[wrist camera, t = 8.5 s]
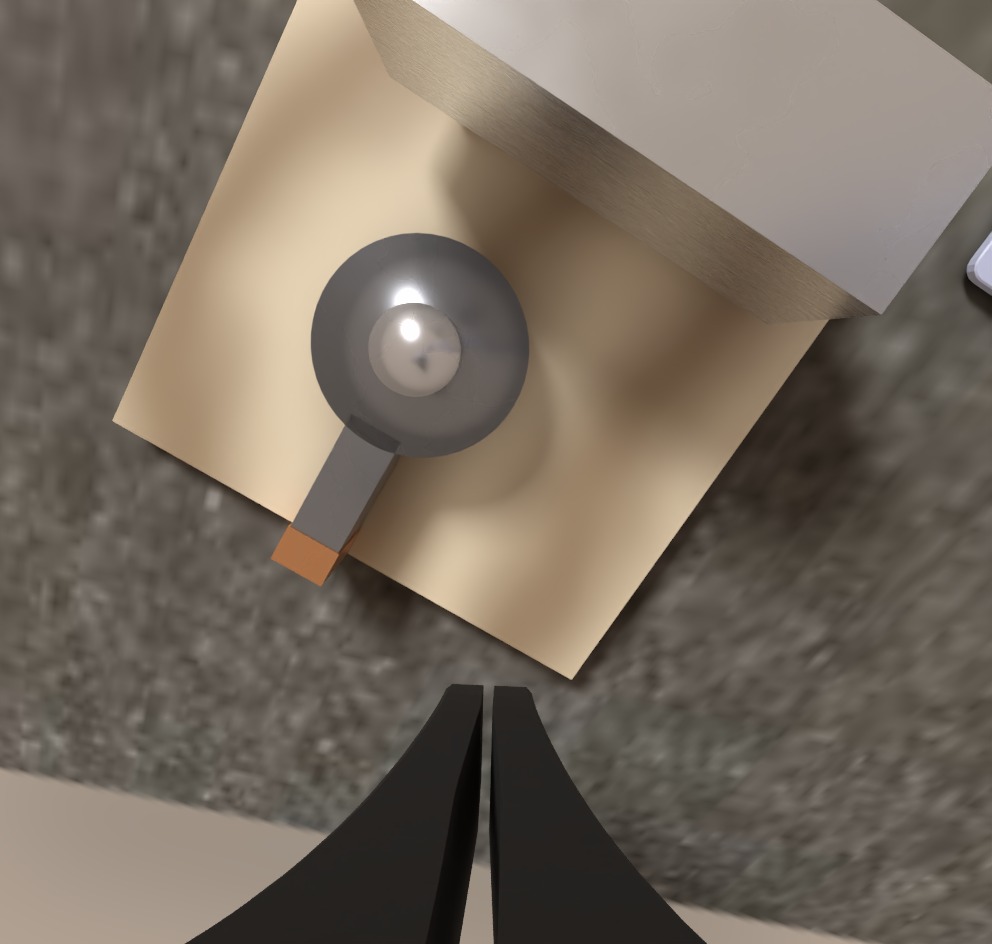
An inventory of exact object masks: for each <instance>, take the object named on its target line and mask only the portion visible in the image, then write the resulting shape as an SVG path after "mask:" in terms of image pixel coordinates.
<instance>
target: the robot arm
mask: <svg viewBox="0 0 992 944" xmlns="http://www.w3.org/2000/svg"><path fill="white" fill-rule="evenodd" d="M967 275H968V278H969V279H970V281H971V282H972V283H974V284H975V285H977V286H978V287H980V288H981V289H983V290H984V291H985V292H987V293H988V294H990V295H991V296H992V232H991V233H990V234H989V236H988V237H987V238H986V240H985V241H984V242H983V244H982V245H981V246H980V248H979V249H978V250H977V252H976V253H975V254H974V256H973V257H972V258H971V260H970V262H969V264H968V265H967ZM482 724H483V685H462V684H452V685H451V686H449V687H448V688H447V689H446V691H445V693H444V695H443V697H442V698H441V700H440V702H439V704H438V705H437V707H436V709H435V710H434V712H433V713H432V715H431V716H430V718H429V719H428V721H427V722H426V724H425V725H424V727H423V728H422V730H421V731H420V733H419V734H418V735H417V737H416V738H415V739H414V741H413V742H412V744H411V745H410V746H409V748H408V749H407V750H406V752H405V753H404V754H403V756H402V757H401V758H400V759H399V761H398V762H397V763H396V764H395V765H394V767H393V768H392V769H391V770H390V771H389V773H388V774H387V775H386V776H385V777H384V779H383V780H382V781H381V782H380V783H379V785H378V786H377V787H376V788H375V789H374V790H373V791H372V793H371V794H370V795H369V796H368V797H367V798H366V799H365V800H364V801H363V802H362V803H361V804H360V805H359V807H358V808H357V809H356V810H355V811H354V812H353V813H352V814H351V815H350V816H349V817H348V818H347V819H346V820H345V821H344V822H343V823H342V824H341V825H340V826H339V827H338V828H336V829H335V830H334V831H333V832H332V833H331V834H330V835H329V836H328V837H327V838H326V839H324V840H323V841H322V842H321V843H320V844H319V845H318V846H317V847H316V848H315V849H313V850H312V851H311V852H310V853H309V854H308V855H307V856H306V857H304V858H303V859H302V860H301V861H300V862H299V863H297V864H296V865H295V866H294V867H293V868H291V869H290V870H289V871H288V872H286V873H285V874H284V875H283V876H282V877H280V878H279V879H277V880H276V881H275V882H274V883H272V884H271V885H269V886H268V887H267V888H266V889H264V890H263V891H262V892H260V893H259V894H258V895H256V896H255V897H254V898H252V899H251V900H250V901H248V902H247V903H246V904H244V905H243V906H242V907H240V908H239V909H238V910H236V911H235V912H233V913H232V914H230V915H229V916H227V917H226V918H224V919H223V920H221V921H220V922H218V923H217V924H215V925H214V926H212V927H211V928H209V929H208V930H206V931H205V932H203V933H201V934H200V935H198V936H196V937H195V938H193V939H192V940H190V941H189V942H187V943H185V944H459V942H460V936H461V930H462V924H463V918H464V912H465V906H466V900H467V894H468V888H469V881H470V875H471V869H472V863H473V857H474V851H475V844H476V838H477V832H478V818H479V803H480V788H481V766H482ZM489 838H490V863H491V887H492V910H493V936H494V944H707V943H706V942H705V941H704V940H702V939H701V938H700V937H699V936H698V935H697V934H696V933H695V932H694V931H693V930H692V929H691V928H690V927H689V926H688V925H687V924H686V923H685V922H684V921H683V920H682V919H681V918H680V917H679V916H678V915H677V914H676V913H675V912H674V910H673V909H672V908H671V907H670V906H669V905H668V904H667V903H666V902H665V901H664V900H663V899H662V897H661V896H660V895H659V894H658V893H657V892H656V891H655V890H654V889H653V888H652V887H651V886H650V884H649V883H648V882H647V881H646V880H645V879H644V878H643V877H642V876H641V875H640V874H639V872H638V871H637V870H636V869H635V868H634V866H633V865H632V864H631V863H630V861H629V860H628V859H627V858H626V857H625V855H624V854H623V853H622V852H621V850H620V849H619V848H618V847H617V845H616V844H615V843H614V841H613V840H612V839H611V837H610V836H609V835H608V833H607V832H606V831H605V829H604V828H603V827H602V825H601V824H600V823H599V821H598V820H597V818H596V817H595V816H594V814H593V813H592V811H591V810H590V808H589V807H588V805H587V804H586V802H585V801H584V799H583V797H582V796H581V794H580V793H579V791H578V790H577V788H576V786H575V785H574V783H573V782H572V780H571V778H570V776H569V775H568V773H567V771H566V770H565V768H564V766H563V764H562V762H561V760H560V759H559V757H558V755H557V753H556V751H555V749H554V747H553V745H552V744H551V742H550V739H549V737H548V735H547V733H546V731H545V729H544V727H543V724H542V722H541V720H540V717H539V715H538V712H537V710H536V707H535V704H534V701H533V698H532V693H531V692H530V691H529V690H528V689H527V688H526V687H508V686H494V697H493V716H492V752H491V788H490V823H489Z"/></svg>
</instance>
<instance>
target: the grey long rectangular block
mask: <svg viewBox="0 0 992 944" xmlns="http://www.w3.org/2000/svg"><path fill="white" fill-rule="evenodd" d="M353 1H354V3H355V5H356V7H357V9H358V11H359V13H360V15H361V18H362V20H363V22H364V24H365V26H366V28H367V30H368V32H369V35H370V37H371V39H372V41H373V43H374V45H375V47H376V50H377V52H378V54H379V56H380V58H381V60H382V62H383V64H384V67H385V69H386V71H387V73H388V75H389V77H390V78H392V79H393V80H395V81H396V82H398V83H399V84H401V85H402V86H404V87H405V88H407V89H408V90H410V91H411V92H413V93H415V94H416V95H418V96H419V97H421V98H422V99H424V100H425V101H427V102H428V103H430V104H431V105H433V106H434V107H436V108H437V109H439V110H440V111H442V112H444V113H445V114H447V115H448V116H450V117H451V118H453V119H454V120H456V121H457V122H459V123H460V124H462V125H463V126H465V127H466V128H468V129H469V130H471V131H473V132H474V133H476V134H477V135H479V136H480V137H482V138H483V139H485V140H486V141H488V142H489V143H491V144H492V145H494V146H495V147H497V148H498V149H500V150H502V151H503V152H505V153H506V154H508V155H509V156H511V157H512V158H514V159H515V160H517V161H518V162H520V163H521V164H523V165H524V166H526V167H527V168H529V169H531V170H532V171H534V172H535V173H537V174H538V175H540V176H541V177H543V178H544V179H546V180H547V181H549V182H550V183H552V184H553V185H555V186H556V187H558V188H560V189H561V190H563V191H564V192H566V193H567V194H569V195H570V196H572V197H573V198H575V199H576V200H578V201H579V202H581V203H582V204H584V205H585V206H587V207H589V208H590V209H592V210H593V211H595V212H596V213H598V214H599V215H601V216H602V217H604V218H605V219H607V220H608V221H610V222H611V223H613V224H614V225H616V226H618V227H619V228H621V229H622V230H624V231H625V232H627V233H628V234H630V235H631V236H633V237H634V238H636V239H637V240H639V241H640V242H642V243H643V244H645V245H647V246H648V247H650V248H651V249H653V250H654V251H656V252H657V253H659V254H660V255H662V256H663V257H665V258H666V259H668V260H669V261H671V262H672V263H674V264H676V265H677V266H679V267H680V268H682V269H683V270H685V271H686V272H688V273H689V274H691V275H692V276H694V277H695V278H697V279H698V280H700V281H701V282H703V283H705V284H706V285H708V286H709V287H711V288H712V289H714V290H715V291H717V292H718V293H720V294H721V295H723V296H724V297H726V298H727V299H729V300H730V301H732V302H734V303H735V304H737V305H738V306H740V307H741V308H743V309H744V310H746V311H747V312H749V313H750V314H752V315H753V316H755V317H756V318H758V319H759V320H761V321H762V322H764V323H766V324H778V323H790V322H802V321H814V320H826V319H838V318H850V317H862V316H874V315H882V313H883V312H884V310H885V309H886V308H887V306H888V305H889V304H890V302H891V301H892V300H893V298H894V297H895V296H896V294H897V293H898V292H899V290H900V289H901V287H902V286H903V285H904V283H905V282H906V281H907V279H908V278H909V277H910V275H911V274H912V273H913V271H914V270H915V269H916V267H917V266H918V264H919V263H920V262H921V260H922V259H923V258H924V256H925V255H926V254H927V252H928V251H929V250H930V248H931V247H932V246H933V244H934V243H935V241H936V240H937V239H938V237H939V236H940V235H941V233H942V232H943V231H944V229H945V228H946V227H947V225H948V224H949V223H950V221H951V220H952V219H953V217H954V216H955V214H956V213H957V212H958V210H959V209H960V208H961V206H962V205H963V204H964V202H965V201H966V200H967V198H968V197H969V196H970V194H971V193H972V191H973V190H974V189H975V187H976V186H977V185H978V183H979V182H980V181H981V179H982V178H983V177H984V175H985V174H986V173H987V171H988V170H989V168H990V167H991V166H992V84H990V83H989V82H988V81H986V80H985V79H983V78H982V77H981V76H979V75H978V74H977V73H975V72H974V71H972V70H971V69H970V68H968V67H967V66H966V65H964V64H963V63H961V62H960V61H959V60H957V59H956V58H955V57H953V56H952V55H951V54H949V53H948V52H946V51H945V50H944V49H942V48H941V47H940V46H938V45H937V44H935V43H934V42H933V41H931V40H930V39H929V38H927V37H926V36H925V35H923V34H922V33H920V32H919V31H918V30H916V29H915V28H914V27H912V26H911V25H909V24H908V23H907V22H905V21H904V20H903V19H901V18H900V17H898V16H897V15H896V14H894V13H893V12H892V11H890V10H889V9H888V8H886V7H885V6H883V5H882V4H881V3H879V2H878V1H877V0H353Z"/></svg>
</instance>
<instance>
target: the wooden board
mask: <svg viewBox="0 0 992 944" xmlns="http://www.w3.org/2000/svg"><path fill="white" fill-rule="evenodd" d="M407 233H426V234H435V235H439V236H444V237H448V238H451V239H453V240H456V241H459V242H461V243H463V244H465V245H467V246H469V247H471V248H472V249H474V250H476V251H477V252H479V253H480V254H481V255H483V256H484V257H486V258H487V259H488V260H489V261H490V262H491V263H492V264H493V265H494V266H495V267H496V268H498V269H499V271H500V272H501V273H502V274H503V276H504V277H505V278H506V279H507V281H508V282H509V284H510V285H511V287H512V289H513V290H514V292H515V294H516V296H517V298H518V300H519V302H520V305H521V307H522V309H523V313H524V316H525V319H526V323H527V329H528V335H529V361H528V369H527V373H526V378H525V382H524V385H523V387H522V390H521V393H520V395H519V397H518V399H517V401H516V403H515V405H514V407H513V408H512V410H511V411H510V412H509V414H508V415H507V417H506V418H505V419H504V420H503V422H502V423H501V424H500V425H499V426H498V427H497V428H496V429H495V430H494V431H493V432H492V433H490V434H489V435H488V436H487V437H486V438H484V439H483V440H481V441H479V442H478V443H476V444H475V445H473V446H471V447H469V448H466V449H464V450H462V451H459V452H456V453H453V454H450V455H446V456H440V457H432V458H415V457H406V456H401V457H400V458H399V460H398V462H397V464H396V465H395V467H394V469H393V471H392V472H391V474H390V476H389V478H388V479H387V481H386V483H385V485H384V486H383V488H382V490H381V492H380V493H379V495H378V497H377V499H376V500H375V502H374V504H373V506H372V507H371V509H370V511H369V513H368V514H367V516H366V518H365V520H364V521H363V523H362V525H361V530H360V532H359V533H358V535H357V537H356V539H355V540H354V542H353V544H352V546H351V547H350V549H349V551H348V553H347V554H349V555H351V556H353V557H354V558H356V559H358V560H360V561H362V562H363V563H365V564H367V565H369V566H370V567H372V568H374V569H376V570H378V571H379V572H381V573H383V574H385V575H386V576H388V577H390V578H392V579H393V580H395V581H397V582H399V583H401V584H402V585H404V586H406V587H408V588H409V589H411V590H413V591H415V592H417V593H418V594H420V595H422V596H424V597H425V598H427V599H429V600H431V601H432V602H434V603H436V604H438V605H440V606H441V607H443V608H445V609H447V610H448V611H450V612H452V613H454V614H456V615H457V616H459V617H461V618H463V619H464V620H466V621H468V622H470V623H471V624H473V625H475V626H477V627H479V628H480V629H482V630H484V631H486V632H487V633H489V634H491V635H493V636H495V637H496V638H498V639H500V640H502V641H503V642H505V643H507V644H509V645H511V646H512V647H514V648H516V649H518V650H519V651H521V652H523V653H525V654H526V655H528V656H530V657H532V658H534V659H535V660H537V661H539V662H541V663H542V664H544V665H546V666H548V667H550V668H551V669H553V670H555V671H557V672H558V673H560V674H562V675H564V676H565V677H567V678H569V679H571V680H572V679H573V677H574V676H575V674H576V673H577V672H578V670H579V669H580V667H581V666H582V665H583V663H584V662H585V660H586V659H587V658H588V656H589V655H590V653H591V652H592V651H593V649H594V648H595V646H596V645H597V644H598V642H599V641H600V639H601V638H602V637H603V635H604V634H605V632H606V631H607V630H608V628H609V627H610V625H611V624H612V623H613V621H614V620H615V618H616V617H617V616H618V614H619V613H620V611H621V610H622V609H623V607H624V606H625V604H626V603H627V602H628V600H629V599H630V597H631V596H632V595H633V593H634V592H635V590H636V589H637V588H638V586H639V585H640V583H641V582H642V581H643V579H644V578H645V576H646V575H647V574H648V572H649V571H650V569H651V568H652V567H653V565H654V564H655V562H656V561H657V560H658V558H659V557H660V555H661V554H662V553H663V551H664V550H665V548H666V547H667V546H668V544H669V543H670V542H671V540H672V539H673V537H674V536H675V535H676V533H677V532H678V530H679V529H680V528H681V526H682V525H683V523H684V522H685V521H686V519H687V518H688V516H689V515H690V514H691V512H692V511H693V509H694V508H695V507H696V505H697V504H698V502H699V501H700V500H701V498H702V497H703V495H704V494H705V493H706V491H707V490H708V488H709V487H710V486H711V484H712V483H713V481H714V480H715V479H716V477H717V476H718V474H719V473H720V472H721V470H722V469H723V467H724V466H725V465H726V463H727V462H728V460H729V459H730V458H731V456H732V455H733V453H734V452H735V451H736V449H737V448H738V446H739V445H740V444H741V442H742V441H743V439H744V438H745V437H746V435H747V434H748V432H749V431H750V430H751V428H752V427H753V425H754V424H755V423H756V421H757V420H758V418H759V417H760V416H761V414H762V413H763V411H764V410H765V409H766V407H767V406H768V404H769V403H770V402H771V400H772V399H773V397H774V396H775V395H776V393H777V392H778V390H779V389H780V388H781V386H782V385H783V383H784V382H785V381H786V379H787V378H788V376H789V375H790V374H791V372H792V371H793V369H794V368H795V367H796V365H797V364H798V362H799V361H800V360H801V358H802V357H803V355H804V354H805V353H806V351H807V350H808V348H809V347H810V346H811V344H812V343H813V341H814V340H815V339H816V337H817V336H818V334H819V333H820V332H821V330H822V329H823V327H824V326H825V325H826V323H827V322H828V320H829V319H826V320H814V321H802V322H790V323H778V324H766V323H764V322H762V321H761V320H759V319H758V318H756V317H755V316H753V315H752V314H750V313H749V312H747V311H746V310H744V309H743V308H741V307H740V306H738V305H737V304H735V303H734V302H732V301H730V300H729V299H727V298H726V297H724V296H723V295H721V294H720V293H718V292H717V291H715V290H714V289H712V288H711V287H709V286H708V285H706V284H705V283H703V282H701V281H700V280H698V279H697V278H695V277H694V276H692V275H691V274H689V273H688V272H686V271H685V270H683V269H682V268H680V267H679V266H677V265H676V264H674V263H672V262H671V261H669V260H668V259H666V258H665V257H663V256H662V255H660V254H659V253H657V252H656V251H654V250H653V249H651V248H650V247H648V246H647V245H645V244H643V243H642V242H640V241H639V240H637V239H636V238H634V237H633V236H631V235H630V234H628V233H627V232H625V231H624V230H622V229H621V228H619V227H618V226H616V225H614V224H613V223H611V222H610V221H608V220H607V219H605V218H604V217H602V216H601V215H599V214H598V213H596V212H595V211H593V210H592V209H590V208H589V207H587V206H585V205H584V204H582V203H581V202H579V201H578V200H576V199H575V198H573V197H572V196H570V195H569V194H567V193H566V192H564V191H563V190H561V189H560V188H558V187H556V186H555V185H553V184H552V183H550V182H549V181H547V180H546V179H544V178H543V177H541V176H540V175H538V174H537V173H535V172H534V171H532V170H531V169H529V168H527V167H526V166H524V165H523V164H521V163H520V162H518V161H517V160H515V159H514V158H512V157H511V156H509V155H508V154H506V153H505V152H503V151H502V150H500V149H498V148H497V147H495V146H494V145H492V144H491V143H489V142H488V141H486V140H485V139H483V138H482V137H480V136H479V135H477V134H476V133H474V132H473V131H471V130H469V129H468V128H466V127H465V126H463V125H462V124H460V123H459V122H457V121H456V120H454V119H453V118H451V117H450V116H448V115H447V114H445V113H444V112H442V111H440V110H439V109H437V108H436V107H434V106H433V105H431V104H430V103H428V102H427V101H425V100H424V99H422V98H421V97H419V96H418V95H416V94H415V93H413V92H411V91H410V90H408V89H407V88H405V87H404V86H402V85H401V84H399V83H398V82H396V81H395V80H393V79H392V78H390V77H389V75H388V73H387V71H386V69H385V67H384V64H383V62H382V60H381V58H380V56H379V54H378V52H377V50H376V47H375V45H374V43H373V41H372V39H371V37H370V35H369V32H368V30H367V28H366V26H365V24H364V22H363V20H362V18H361V15H360V13H359V11H358V9H357V7H356V5H355V3H354V1H353V0H297V3H296V5H295V7H294V9H293V12H292V14H291V16H290V19H289V21H288V23H287V25H286V28H285V30H284V32H283V35H282V37H281V39H280V41H279V44H278V46H277V48H276V50H275V53H274V55H273V57H272V60H271V62H270V64H269V66H268V69H267V71H266V73H265V75H264V78H263V80H262V82H261V85H260V87H259V89H258V91H257V94H256V96H255V98H254V100H253V103H252V105H251V107H250V110H249V112H248V114H247V116H246V119H245V121H244V123H243V125H242V128H241V130H240V132H239V135H238V137H237V139H236V141H235V144H234V146H233V148H232V150H231V153H230V155H229V157H228V160H227V162H226V164H225V166H224V169H223V171H222V173H221V175H220V178H219V180H218V182H217V185H216V187H215V189H214V191H213V194H212V196H211V198H210V200H209V203H208V205H207V207H206V210H205V212H204V214H203V216H202V219H201V221H200V223H199V225H198V228H197V230H196V232H195V235H194V237H193V239H192V241H191V244H190V246H189V248H188V250H187V253H186V255H185V257H184V260H183V262H182V264H181V266H180V269H179V271H178V273H177V275H176V278H175V280H174V282H173V285H172V287H171V289H170V291H169V294H168V296H167V298H166V300H165V303H164V305H163V307H162V310H161V312H160V314H159V316H158V319H157V321H156V323H155V325H154V328H153V330H152V332H151V335H150V337H149V339H148V341H147V344H146V346H145V348H144V350H143V353H142V355H141V357H140V360H139V362H138V364H137V366H136V369H135V371H134V373H133V375H132V378H131V380H130V382H129V385H128V387H127V389H126V391H125V394H124V396H123V398H122V400H121V403H120V405H119V407H118V410H117V412H116V414H115V416H114V419H113V422H115V423H117V424H119V425H120V426H122V427H124V428H126V429H127V430H129V431H131V432H133V433H135V434H136V435H138V436H140V437H142V438H143V439H145V440H147V441H149V442H151V443H152V444H154V445H156V446H158V447H159V448H161V449H163V450H165V451H167V452H168V453H170V454H172V455H174V456H175V457H177V458H179V459H181V460H182V461H184V462H186V463H188V464H190V465H191V466H193V467H195V468H197V469H198V470H200V471H202V472H204V473H206V474H207V475H209V476H211V477H213V478H214V479H216V480H218V481H220V482H221V483H223V484H225V485H227V486H229V487H230V488H232V489H234V490H236V491H237V492H239V493H241V494H243V495H245V496H246V497H248V498H250V499H252V500H253V501H255V502H257V503H259V504H260V505H262V506H264V507H266V508H268V509H269V510H271V511H273V512H275V513H276V514H278V515H280V516H282V517H284V518H285V519H287V520H289V521H291V522H293V521H294V519H295V517H296V515H297V513H298V511H299V509H300V508H301V506H302V504H303V502H304V500H305V498H306V496H307V495H308V493H309V491H310V489H311V487H312V485H313V483H314V482H315V480H316V478H317V476H318V474H319V472H320V471H321V469H322V467H323V465H324V463H325V461H326V459H327V458H328V456H329V454H330V452H331V450H332V448H333V446H334V445H335V443H336V441H337V439H338V437H339V435H340V434H341V432H342V430H343V428H344V426H345V424H344V423H343V422H342V421H341V420H340V419H339V418H338V417H337V416H336V414H335V413H334V411H333V410H332V409H331V407H330V406H329V404H328V403H327V401H326V399H325V397H324V395H323V393H322V391H321V389H320V386H319V384H318V381H317V379H316V375H315V371H314V367H313V363H312V355H311V329H312V321H313V317H314V313H315V309H316V306H317V303H318V301H319V298H320V296H321V294H322V291H323V290H324V288H325V286H326V284H327V283H328V281H329V279H330V278H331V277H332V275H333V274H334V273H335V272H336V270H337V269H338V268H339V267H340V266H341V265H342V264H343V263H344V262H345V261H346V260H347V259H348V258H349V257H350V256H352V255H353V254H355V253H356V252H357V251H359V250H360V249H361V248H363V247H365V246H367V245H369V244H371V243H373V242H375V241H378V240H381V239H383V238H386V237H389V236H394V235H399V234H407Z"/></svg>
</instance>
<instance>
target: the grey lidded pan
mask: <svg viewBox="0 0 992 944" xmlns="http://www.w3.org/2000/svg"><path fill="white" fill-rule="evenodd" d="M311 355H312V363H313V367H314V371H315V375H316V379H317V381H318V384H319V386H320V389H321V391H322V393H323V395H324V397H325V399H326V401H327V403H328V404H329V406H330V407H331V409H332V410H333V411H334V413H335V414H336V416H337V417H338V418H339V419H340V420H341V421H342V422H343V423H344V424H345V426H344V428H343V430H342V432H341V434H340V435H339V437H338V439H337V441H336V443H335V445H334V446H333V448H332V450H331V452H330V454H329V456H328V458H327V459H326V461H325V463H324V465H323V467H322V469H321V471H320V472H319V474H318V476H317V478H316V480H315V482H314V483H313V485H312V487H311V489H310V491H309V493H308V495H307V496H306V498H305V500H304V502H303V504H302V506H301V508H300V509H299V511H298V513H297V515H296V517H295V519H294V521H293V522H292V523H291V524H290V525H289V526H288V527H287V529H286V531H285V533H284V535H283V537H282V538H281V540H280V542H279V544H278V546H277V548H276V550H275V551H274V553H273V555H272V557H271V559H272V560H274V561H276V562H278V563H280V564H281V565H283V566H285V567H287V568H289V569H290V570H292V571H294V572H296V573H298V574H299V575H301V576H303V577H305V578H307V579H308V580H310V581H312V582H314V583H316V584H317V585H319V586H322V585H323V583H324V582H325V581H326V580H327V578H328V577H329V576H330V575H331V573H332V572H333V571H334V570H335V568H336V567H337V566H338V565H339V564H340V562H341V561H342V560H343V559H344V557H345V556H346V554H347V553H348V551H349V549H350V547H351V546H352V544H353V542H354V540H355V539H356V537H357V535H358V533H359V532H360V530H361V525H362V523H363V521H364V520H365V518H366V516H367V514H368V513H369V511H370V509H371V507H372V506H373V504H374V502H375V500H376V499H377V497H378V495H379V493H380V492H381V490H382V488H383V486H384V485H385V483H386V481H387V479H388V478H389V476H390V474H391V472H392V471H393V469H394V467H395V465H396V464H397V462H398V460H399V458H400V457H401V456H406V457H415V458H432V457H440V456H446V455H450V454H453V453H456V452H459V451H462V450H464V449H466V448H469V447H471V446H473V445H475V444H476V443H478V442H479V441H481V440H483V439H484V438H486V437H487V436H488V435H489V434H490V433H492V432H493V431H494V430H495V429H496V428H497V427H498V426H499V425H500V424H501V423H502V422H503V420H504V419H505V418H506V417H507V415H508V414H509V412H510V411H511V410H512V408H513V407H514V405H515V403H516V401H517V399H518V397H519V395H520V393H521V390H522V387H523V385H524V382H525V378H526V373H527V369H528V361H529V335H528V329H527V323H526V319H525V316H524V313H523V309H522V307H521V305H520V302H519V300H518V298H517V296H516V294H515V292H514V290H513V289H512V287H511V285H510V284H509V282H508V281H507V279H506V278H505V277H504V276H503V274H502V273H501V272H500V271H499V269H498V268H496V267H495V266H494V265H493V264H492V263H491V262H490V261H489V260H488V259H487V258H486V257H484V256H483V255H481V254H480V253H479V252H477V251H476V250H474V249H472V248H471V247H469V246H467V245H465V244H463V243H461V242H459V241H456V240H453V239H451V238H448V237H444V236H439V235H435V234H426V233H407V234H399V235H394V236H389V237H386V238H383V239H381V240H378V241H375V242H373V243H371V244H369V245H367V246H365V247H363V248H361V249H360V250H359V251H357V252H356V253H355V254H353V255H352V256H350V257H349V258H348V259H347V260H346V261H345V262H344V263H343V264H342V265H341V266H340V267H339V268H338V269H337V270H336V272H335V273H334V274H333V275H332V277H331V278H330V279H329V281H328V283H327V284H326V286H325V288H324V290H323V291H322V294H321V296H320V298H319V301H318V303H317V306H316V309H315V313H314V317H313V321H312V329H311Z"/></svg>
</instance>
